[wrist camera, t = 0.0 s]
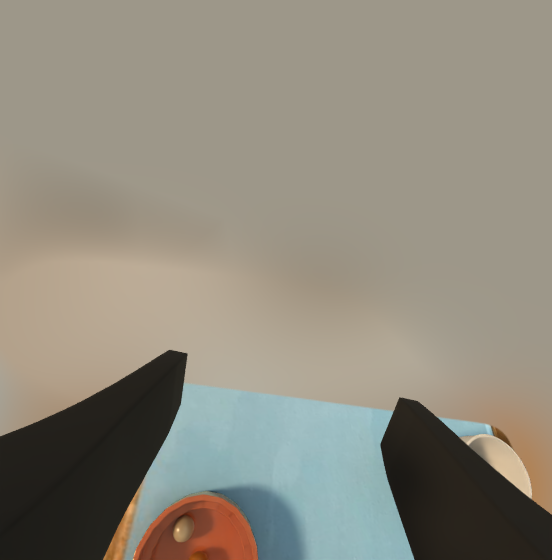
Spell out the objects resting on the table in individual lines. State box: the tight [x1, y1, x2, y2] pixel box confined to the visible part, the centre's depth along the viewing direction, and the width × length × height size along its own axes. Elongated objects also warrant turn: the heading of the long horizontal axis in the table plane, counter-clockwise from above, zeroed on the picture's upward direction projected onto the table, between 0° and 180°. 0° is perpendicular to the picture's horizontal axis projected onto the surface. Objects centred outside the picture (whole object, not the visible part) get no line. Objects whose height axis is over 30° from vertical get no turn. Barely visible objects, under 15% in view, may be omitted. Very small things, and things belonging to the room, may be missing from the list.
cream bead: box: [173, 515, 194, 543], centre depth 31 cm, size 2×2×2 cm
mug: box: [459, 434, 532, 499], centre depth 32 cm, size 10×7×12 cm, turn 0°
